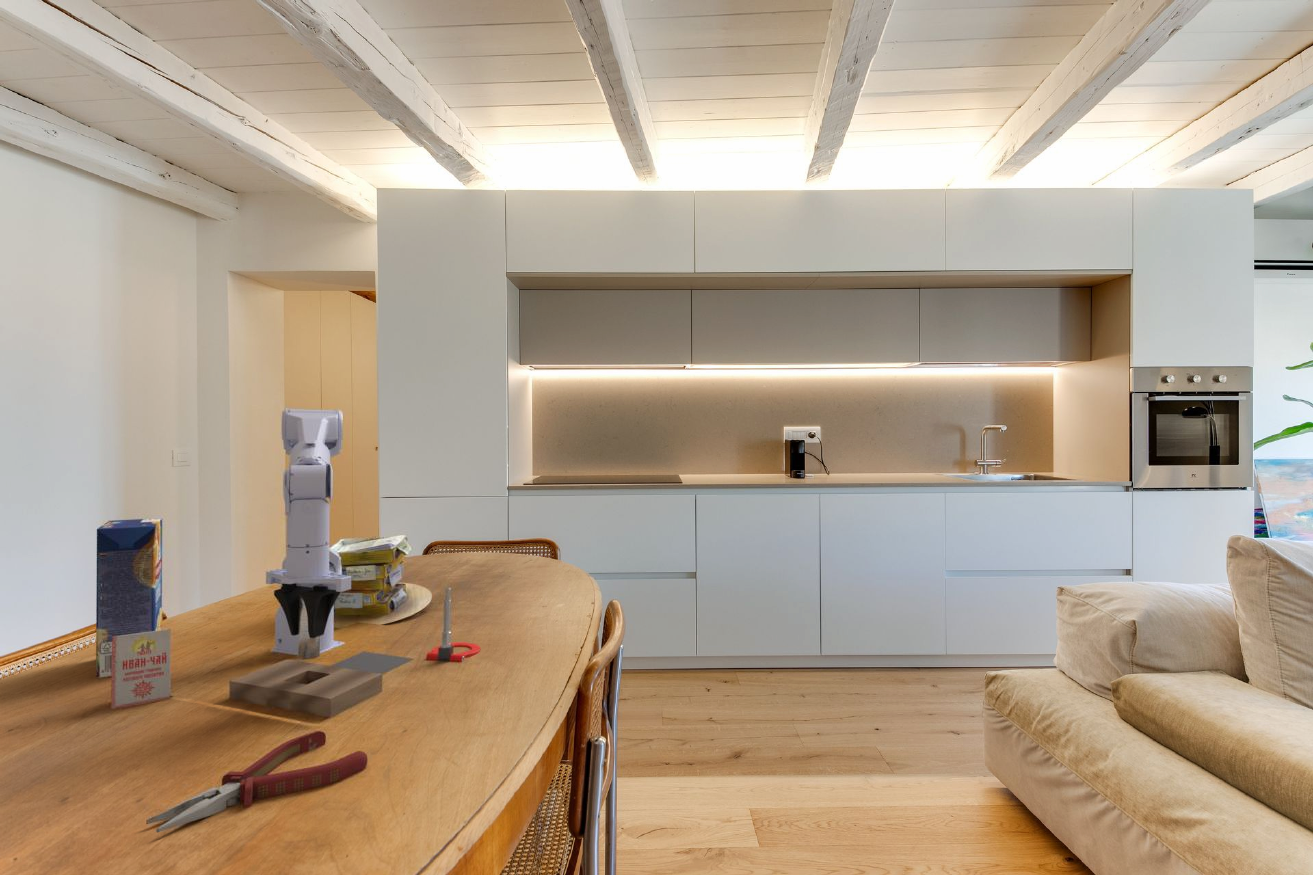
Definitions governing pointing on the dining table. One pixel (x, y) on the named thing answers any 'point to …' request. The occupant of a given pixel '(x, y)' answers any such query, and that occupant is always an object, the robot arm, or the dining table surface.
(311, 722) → the dining table surface
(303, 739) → the pliers
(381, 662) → the mat
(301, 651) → the peg
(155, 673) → the tea bag
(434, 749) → the dining table surface
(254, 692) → the hole block
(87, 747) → the dining table surface
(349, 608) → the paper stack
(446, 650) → the tow hook
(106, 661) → the juice carton
